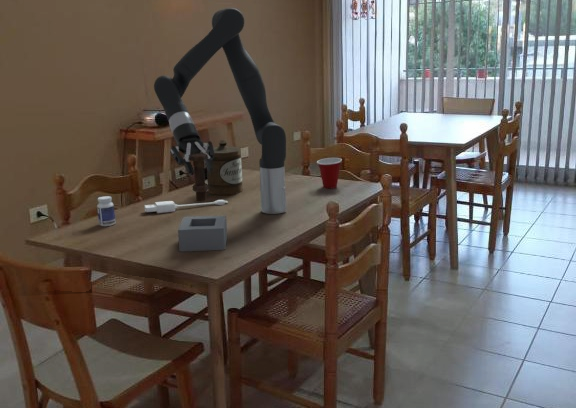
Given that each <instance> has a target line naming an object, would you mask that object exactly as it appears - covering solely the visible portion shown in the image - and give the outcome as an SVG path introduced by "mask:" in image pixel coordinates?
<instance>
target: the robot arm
mask: <svg viewBox="0 0 576 408" xmlns="http://www.w3.org/2000/svg"><path fill="white" fill-rule="evenodd" d="M244 26H245V17H244V15H243V13H242V12H241V11H240V10H239V9H237V8H235V7H228V8H223V9H219V10H218V11H216V12H215V13H213V15H212V18H211V27H212V29H211V30H210V31H209V32H208V33H207V35H205V36H204V38H203V39H200V41H199V42H197V43H196V44H195V45H194V46H192V47H191V48H190V49H189V50H188V51H187V52H186V53H185V54H184V55H183V56H182V57H181V58H180V59H179V60H178V62H177V63H176V64H175V65H174V67H173V68H172V69H173V77H170V76H168V75H165V74H164V75H160V76H158V77H157V78H156V79H155V80H154V83H153V89H154V92H155V95H156V97H157V99H158V100H159V102H160V104H161V106H162V108H163V110H164V113H165V116H166V118H167V121H168V123H169V127H170V131H171V133H172V135H173V138H174V140H175V143H176V146H175V145H171V147H170V150H169V153H170V154H171V155H172V158H173V159H174V160H175V162H176V163H177V165H178V166H184V168H185V170H186V172H187V174H189V175H190V176H194V175H195V174H194V166H193V165H192V163H191V161H190V160H189V156H190V155H191V154H195V153H205V154H207V153H206V150H207V152H208V154H207V155H208V159H206V160H205V161H204V166H205V167H206V171H207V170H208V172H212V169H213V165H212V162H211V161H212V160H213V158H214V156H215V154H214V150H213V142H212V141H208V142H203V140H201V137H200V134H199V132H198V129H197V127H196V124H195V123H194V120H193V118H192V117H191V115H190V114H189V113H190V112H189V110H188V108H187V106H186V104H185V103H184V101H183V100H182V97H183V95H184V94H185V92H186V91H187V88H188V87H189V86H190V85H189V84H190V83H191V81H192V80H193V79H194V78H195V77H196V76H197V74H198V73H199V72H200V71H201V70H202V69H203V67H205V66H206V64H207V63H208V62H209V61H210V60H211V59H212V58H213V56H214V55H216V53H217V52H219V50H221V49H222V50H223V52H224V55H225V57H226V60H227V62H228V65H229V68H230V70H231V72H232V76H233V79H234V82H235V85H236V87H237V90H238V92H239V95H240V96H241V98H242V101H243V103H244V105H245V108H246V109H247V110H246V111H248V114H249V117H250V120H251V123H252V127H253V130H254V134H255V135H254V136H255V138H256V140H257V141H258V144H259V145H261V157H260V158H259V163H258V164H259V182H260V183H259V184H260V185H259V186H260V187H259V188H260V190H259V191H260V208H261V209H260V210H261V213H264V214H267V215H277V214H281V213H286V212H287V204H286V203H287V202H286V201H287V200H286V179H285V178H286V175H285V161H286V157H287V137H286V132H285V129H284V127H282V126H281V125H279V124H277V123H275V121H274V119H273V117H272V114H271V112H270V109H269V106H268V101H267V94H266V86H265V84H264V83H265V82H264V79H263V78H262V77H263V76H262V75H261V72H260V70H259V68H258V66H257V64H256V63H255V61H254V59H253V58H252V57H251V55H250V54H249V53H248V52H247V50H246V48H245V47H244V44H243V43H242V39H241V36H240V33H241V32H242V31H243V29H244ZM180 152H181V153H182V154H183V156H182V155H181V153H180Z"/></svg>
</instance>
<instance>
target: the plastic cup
mask: <svg viewBox="0 0 576 408" xmlns="http://www.w3.org/2000/svg"><path fill="white" fill-rule="evenodd" d="M342 161H343V159H342V158H339V157H327V158H321V159H319V160H317V161H316V164H317V165H318V167H319V173H320V177H321V181H322V186H323V188H325V189H335V188H337V187H338V180H339V176H340V169H341V164H342Z"/></svg>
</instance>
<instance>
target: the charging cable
mask: <svg viewBox="0 0 576 408" xmlns="http://www.w3.org/2000/svg"><path fill="white" fill-rule="evenodd" d="M228 203H229V201H228V200H225V199H217V200H215V201H212V202H197V203H188V204H177V203H176V202H174V201H173V200H166V201H155V202H154V204H144V207H143V208H144V211H145V212H146V213H153V212H156V214H164V213H171V212H176V209H177V208H180V207H191V206H205V205H217V206H222V205H225V204H228Z"/></svg>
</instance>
